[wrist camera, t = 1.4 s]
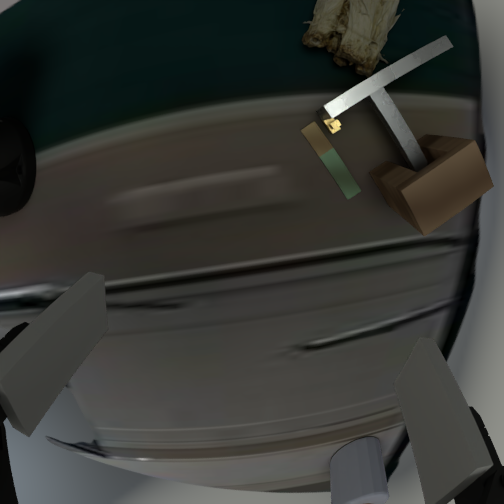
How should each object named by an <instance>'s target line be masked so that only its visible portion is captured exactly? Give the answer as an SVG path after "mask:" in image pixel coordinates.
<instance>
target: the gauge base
mask: <svg viewBox="0 0 504 504" xmlns="http://www.w3.org/2000/svg"><path fill="white" fill-rule="evenodd" d="M301 132H302V133H303V135H304V136H305V137H306V139H307V140H308V142H309V143H310V144H311V146H312V147H313V149H314V150H315V151H316V153H317V154H318V156H319V157H320V159H321V160H322V162H323V163H324V165H325V166H326V167H327V169H328V170H329V172H330V173H331V175H332V176H333V178H334V179H335V181H336V182H337V184H338V185H339V187H340V189H341V190H342V192H343V193H344V195H345V196H346V198H347V199H350V198H351V197H353V196H354V195H356V194H358V193H359V192H361V190H360V188H359V186H358V185H357V183H356V182H355V180H354V179H353V177H352V175H351V174H350V172H349V171H348V169H347V168H346V166H345V165H344V163H343V162H342V160H341V158H340V157H339V155H338V154H337V153H336V151H335V150H334V148H333V147H332V145H331V144H330V142H329V141H328V139H327V138H326V137H325V135H324V134H323V132H322V131H321V129H320V128H319V127H318V125H317V124H316V122H315V121H314V122H313V123H311V124H309V125H308V126H307V127H305V128H304V129H302V130H301ZM417 143H418V145H419V147H420V149H421V150H422V152H423V154H424V156H425V158H426V160H427V162H428V164H429V165H428V166H426V167H425V168H423V169H422V170H420V171H419V172H415V171H412V170H410V169H407V168H404V167H402V166H399V165H396V164H394V163H391V162H388V161H385V162H384V163H382V164H381V165H379V166H378V167H376V168H375V169H373V170H372V171H370V172H369V173H370V175H371V176H372V178H373V180H374V181H375V183H376V185H377V186H378V188H379V190H380V191H381V193H382V195H383V197H384V198H385V200H386V202H387V204H388V205H389V206H390V207H391V208H392V209H393V210H394V211H396V212H397V213H398V214H399V215H400V216H402V217H403V218H404V219H405V220H406V221H407V222H409V223H410V224H411V225H412V226H413V227H414V228H415V229H417V230H418V231H419V232H420V233H421V234H422V235H423V236H426V235H427V234H429V233H430V232H432V231H433V230H434V229H436V228H437V227H439V226H440V225H442V224H443V223H445V222H446V221H447V220H449V219H450V218H452V217H453V216H454V215H456V214H457V213H459V212H460V211H461V210H463V209H464V208H465V207H467V206H468V205H470V204H471V203H472V202H474V201H475V200H476V199H478V198H479V197H480V196H482V195H483V194H484V193H486V192H487V191H488V190H489V189H491V188H492V187H493V186H494V185H493V183H492V180H491V177H490V175H489V172H488V170H487V167H486V165H485V162H484V160H483V157H482V155H481V153H480V150H479V148H478V146H477V144H476V141H475V140H470V139H463V138H455V137H446V136H437V135H427V134H426V135H425V136H423V137H422V138H420V139H419V140H417Z"/></svg>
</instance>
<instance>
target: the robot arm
mask: <svg viewBox="0 0 504 504" xmlns="http://www.w3.org/2000/svg"><path fill="white" fill-rule="evenodd" d="M35 169H36V165H35V153H34V148H33V144H32V141H31V138H30V136H29V133H28V132H27V130H26V128H25V127H24V126H23V124H22V123H21V122H19V121H18V120H16V119H14V118H11V117H5V118H0V216H7V215H10V214H12V213H14V212H16V211H18V210H20V209H21V208H22V207H23V206H24V205H25V204H26V203H27V201H28V199H29V197H30V195H31V192H32V189H33V186H34V180H35ZM107 330H108V322H107V311H106V298H105V282H104V275H100V274H97V273H93V272H88V273H87V274H85V275H84V276H83V277H82V278H81V279H79V280H78V281H77V282H76V283H75V284H74V285H72V286H71V287H70V288H69V289H68V290H67V291H66V292H64V293H63V294H62V295H61V296H60V297H59V298H58V299H57V300H55V301H54V302H53V303H52V304H51V305H50V306H49V307H48V308H47V309H45V310H44V311H43V312H42V313H41V314H40V315H39V316H38V317H37V318H36V319H35V320H34V321H33V322H31V323H30V324H29V323H27V322H24V323H22V324H20V325H18V326H16V327H13V328H12V329H11V330H10V331H9V332H8V333H7V334H6V335H5V337H3V338H2V339H1V340H0V504H18V500H17V496H16V492H15V487H14V482H13V477H12V472H11V466H10V461H9V454H8V447H7V440H6V430H5V426H4V423H3V422H4V420H5V419H6V418H8V420H9V421H10V423H11V425H12V426H13V428H15V429H17V430H18V431H20V432H21V433H23V434H25V435H26V436H28V437H30V435H31V434H32V432H33V431H34V429H35V428H36V426H37V425H38V424H39V422H40V421H41V419H42V418H43V416H44V415H45V413H46V412H47V411H48V409H49V408H50V406H51V405H52V403H53V402H54V401H55V399H56V397H57V396H58V395H59V394H60V392H61V391H62V389H63V388H64V387H65V385H66V384H67V383H68V381H69V380H70V379H71V377H72V376H73V374H74V373H75V372H76V370H77V369H78V368H79V366H80V365H81V364H82V362H83V361H84V360H85V358H86V357H87V356H88V355H89V353H90V352H91V351H92V349H93V348H94V347H95V345H96V344H97V343H98V342H99V340H100V339H101V338H102V336H103V335H104V334H105V333H106V331H107ZM393 385H394V388H395V391H396V394H397V397H398V401H399V404H400V407H401V410H402V414H403V417H404V421H405V424H406V428H407V431H408V435H409V438H410V442H411V446H412V449H413V453H414V457H415V461H416V465H417V469H418V473H419V477H420V482H421V486H422V490H423V494H424V499H425V504H447V503H448V502H450V501H451V500H452V499H454V500H455V504H504V466H502V464H501V462H500V460H499V458H498V455H497V453H496V450H495V448H494V445H493V443H492V441H491V439H490V436H488V432H487V430H486V428H484V427H485V425H484V423H483V421H482V419H481V417H480V415H479V414H478V413H477V412H476V410H475V409H474V408H473V407H469V406H468V404H467V402H466V400H465V398H464V396H463V394H462V392H461V390H460V389H459V386H458V384H457V382H456V380H455V378H454V376H453V374H452V372H451V370H450V369H449V367H448V365H447V363H446V361H445V359H444V357H443V355H442V353H441V352H440V350H439V348H438V346H437V344H436V343H435V341H434V339H430V338H421V337H419V339H418V341H417V343H416V345H415V346H414V348H413V350H412V352H411V354H410V356H409V358H408V360H407V361H406V363H405V365H404V367H403V369H402V370H401V372H400V374H399V375H398V377H397V379H396V381H395V382H394V384H393Z"/></svg>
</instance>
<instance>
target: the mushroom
mask: <svg viewBox="0 0 504 504" xmlns="http://www.w3.org/2000/svg"><path fill="white" fill-rule="evenodd" d="M398 3H399V0H317V3H316V5H315V9H314V12H313V14H314V18H313V21H312V22H311V21H307V22H304V23H309V24H310V27H309V30H308V31H307V32H306V33H305V34H304V36H303V38H302V42H303V44H304V45H307V46H308V47H316V46H317V47H324V46H326V49H327V51H328V52H332V53H334V54H335V55H334V58H333V60H334V61H335V62H336V63H337V64H338V65H339V66H340V67H341V66H347V61H349V62H350V63H349V65H352V64H355V63H356V65H355V72H356V73H357V74H360V75H366V76H367V77H370V76H371V75H372V72H373V70H374V69H375V66H376V64H377V63H378V61H379V59H380V60H382V61H385V63H386V64H387V63H389V62H388V61H386V60H385V59H383V58H382V56H381V54H380V51H381V49H382V48H383V46H384V44H385V43H386V41H387V33H388V32H389V30H390V29H391V28H392V27H393V26H394V24H395V22H396V21H397V19H398V18H399V16H400V15H401V14H400V15H398V16H396V17H395V14H396V10H397V6H398ZM403 10H404V9H403ZM394 17H395V18H394ZM383 56H384V55H383Z"/></svg>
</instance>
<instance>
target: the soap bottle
mask: <svg viewBox="0 0 504 504" xmlns="http://www.w3.org/2000/svg"><path fill="white" fill-rule="evenodd" d="M330 478H331V504H384V503H385V502H386V501H387V500H388V498H389V493H388V487H387V480H386V474H385V469H384V463H383V457H382V452H381V447H380V442H379V439H377V438H375V437H364V438H361V439H358V440H355V441H353V442H351V443H349V444H347V445H345V446H344V447H343V448H341V449H340V450H338V451H337V452H336V454H335V455H334V456H333V457H332V459H331V462H330Z"/></svg>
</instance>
